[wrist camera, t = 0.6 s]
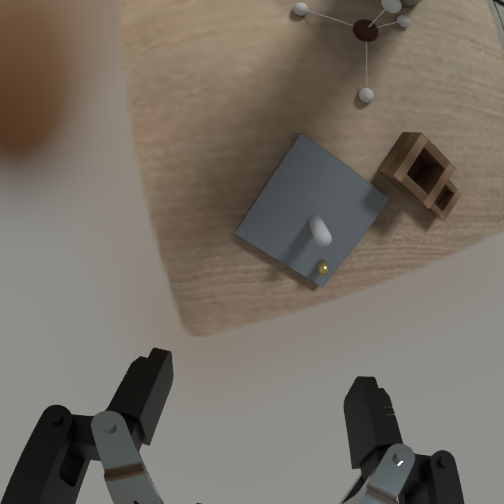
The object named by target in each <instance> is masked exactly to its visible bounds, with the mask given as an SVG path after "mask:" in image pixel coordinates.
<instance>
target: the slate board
mask: <svg viewBox="0 0 504 504" xmlns="http://www.w3.org/2000/svg"><path fill="white" fill-rule="evenodd" d="M389 200H390V199H389V198H387V197H386V196H385V195H384V194H383V193H381V192H380V191H379V190H378V189H377V188H375V187H374V186H373V185H372V184H370V183H369V182H368V181H367V180H365V179H364V178H363V177H362V176H360V175H359V174H358V173H357V172H355V171H354V170H353V169H351V168H350V167H349V166H347V165H346V164H345V163H343V162H342V161H341V160H339V159H338V158H337V157H335V156H334V155H332V154H331V153H330V152H328V151H327V150H325V149H324V148H323V147H321V146H320V145H318V144H317V143H315V142H314V141H312V140H311V139H309V138H308V137H307V136H305V135H303V134H302V133H300V134H299V136H298V137H297V139H296V140H295V142H294V143H293V145H292V146H291V148H290V149H289V151H288V152H287V154H286V155H285V157H284V158H283V160H282V161H281V163H280V164H279V166H278V167H277V169H276V170H275V172H274V173H273V175H272V176H271V178H270V179H269V181H268V182H267V184H266V185H265V187H264V188H263V190H262V191H261V193H260V194H259V196H258V197H257V199H256V201H255V202H254V204H253V205H252V207H251V208H250V210H249V211H248V213H247V214H246V216H245V218H244V219H243V221H242V222H241V224H240V225H239V227H238V228H237V230H236V232H235V235H237V236H239V237H240V238H242V239H244V240H245V241H247V242H249V243H250V244H252V245H254V246H255V247H257V248H258V249H260V250H262V251H263V252H265V253H267V254H268V255H270V256H272V257H273V258H275V259H277V260H278V261H280V262H281V263H283V264H285V265H286V266H288V267H290V268H291V269H293V270H294V271H296V272H298V273H299V274H301V275H303V276H304V277H306V278H308V279H309V280H311V281H312V282H314V283H316V284H317V285H319V286H321V287H323V286H324V285H325V283H326V282H327V281H328V280H329V279H330V277H331V276H332V275H333V274H334V272H335V271H336V270H337V269H338V267H339V266H340V265H341V264H342V262H343V261H344V260H345V259H346V257H347V256H348V255H349V254H350V252H351V251H352V250H353V248H354V247H355V246H356V245H357V243H358V242H359V241H360V239H361V238H362V237H363V235H364V234H365V233H366V231H367V230H368V229H369V227H370V226H371V225H372V223H373V222H374V221H375V219H376V218H377V216H378V215H379V214H380V212H381V211H382V210H383V208H384V207H385V205H386V204H387V203H388V201H389ZM321 259H323V260H325V261H326V263H327V265H328V268H329V273H328V274H327V275H325V276H322V275H321V274H320V273H319V270H318V267H317V262H318V261H319V260H321Z"/></svg>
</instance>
